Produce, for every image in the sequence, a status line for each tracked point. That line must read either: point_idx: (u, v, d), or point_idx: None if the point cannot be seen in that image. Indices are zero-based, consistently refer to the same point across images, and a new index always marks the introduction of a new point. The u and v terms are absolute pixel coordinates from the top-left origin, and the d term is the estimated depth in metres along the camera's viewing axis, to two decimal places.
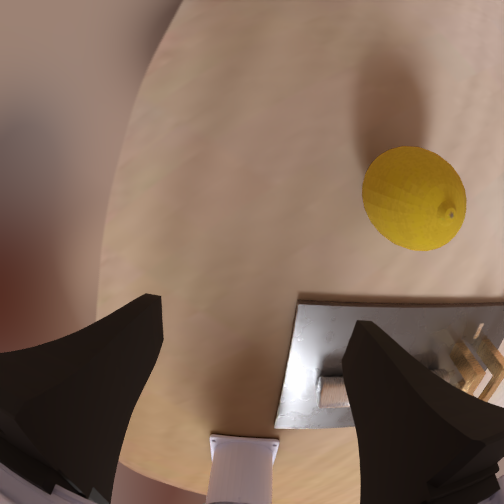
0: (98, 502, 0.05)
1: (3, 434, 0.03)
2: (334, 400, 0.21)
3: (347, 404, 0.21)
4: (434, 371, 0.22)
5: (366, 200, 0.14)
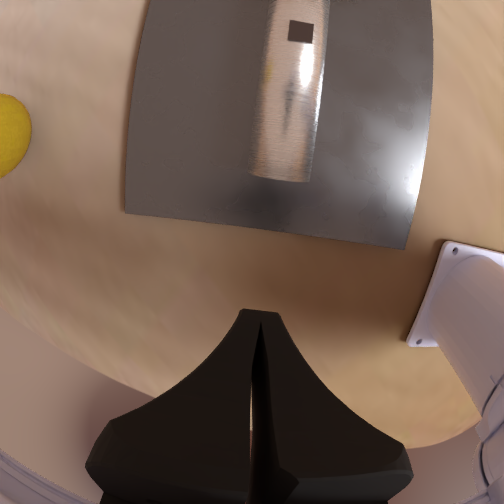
0: None
1: None
2: (274, 154, 0.11)
3: (292, 125, 0.11)
4: None
5: None
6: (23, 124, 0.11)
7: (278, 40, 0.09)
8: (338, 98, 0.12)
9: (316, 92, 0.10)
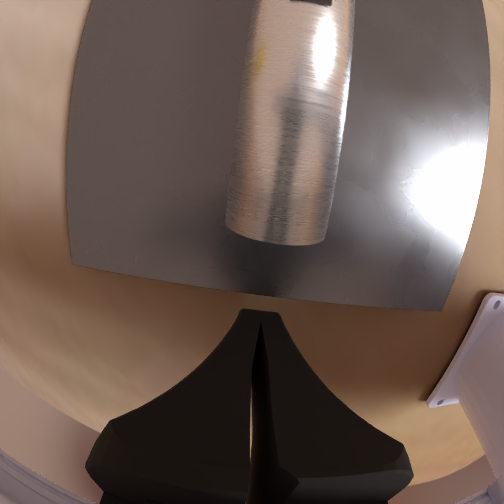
0: None
1: None
2: (264, 200, 0.07)
3: (298, 147, 0.06)
4: None
5: None
6: None
7: (272, 0, 0.05)
8: (371, 100, 0.08)
9: (341, 87, 0.06)
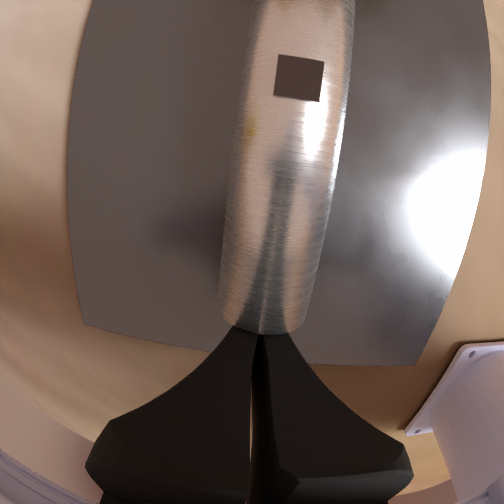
0: None
1: None
2: (248, 300, 0.07)
3: (278, 259, 0.07)
4: None
5: None
6: None
7: (257, 94, 0.06)
8: (358, 192, 0.09)
9: (324, 193, 0.07)
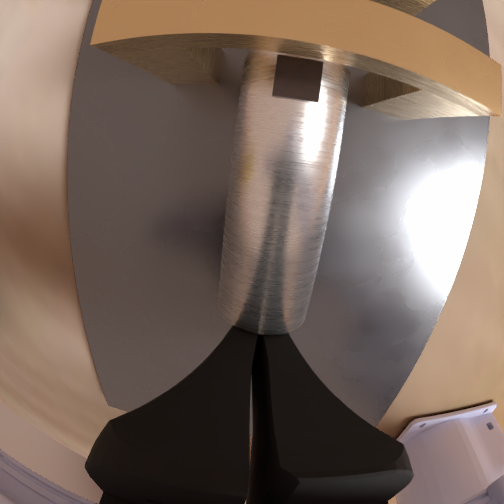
0: None
1: None
2: (247, 300, 0.08)
3: (277, 259, 0.07)
4: None
5: None
6: None
7: (257, 95, 0.06)
8: (318, 346, 0.11)
9: (323, 194, 0.07)
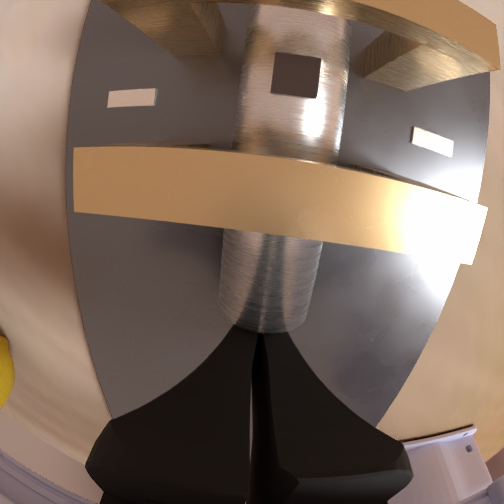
0: None
1: None
2: (247, 298, 0.07)
3: (277, 256, 0.07)
4: None
5: None
6: (4, 371, 0.11)
7: (255, 92, 0.06)
8: None
9: None
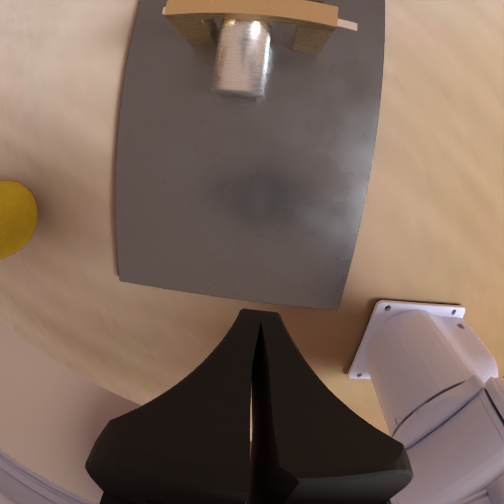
0: None
1: None
2: (220, 71, 0.12)
3: (233, 48, 0.12)
4: None
5: None
6: (31, 210, 0.16)
7: None
8: (278, 196, 0.17)
9: (256, 23, 0.11)
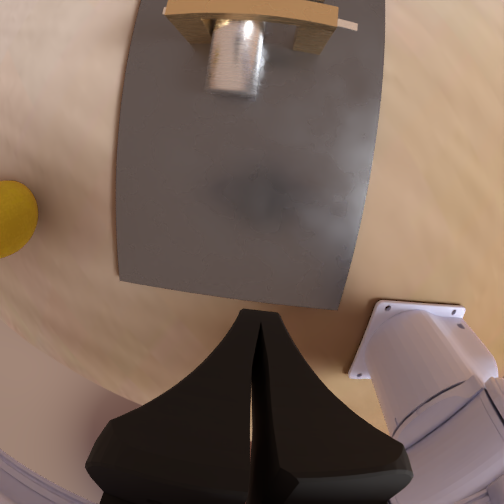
0: None
1: None
2: (208, 71, 0.13)
3: (219, 48, 0.12)
4: None
5: None
6: (31, 210, 0.16)
7: None
8: (279, 196, 0.17)
9: (241, 21, 0.11)
